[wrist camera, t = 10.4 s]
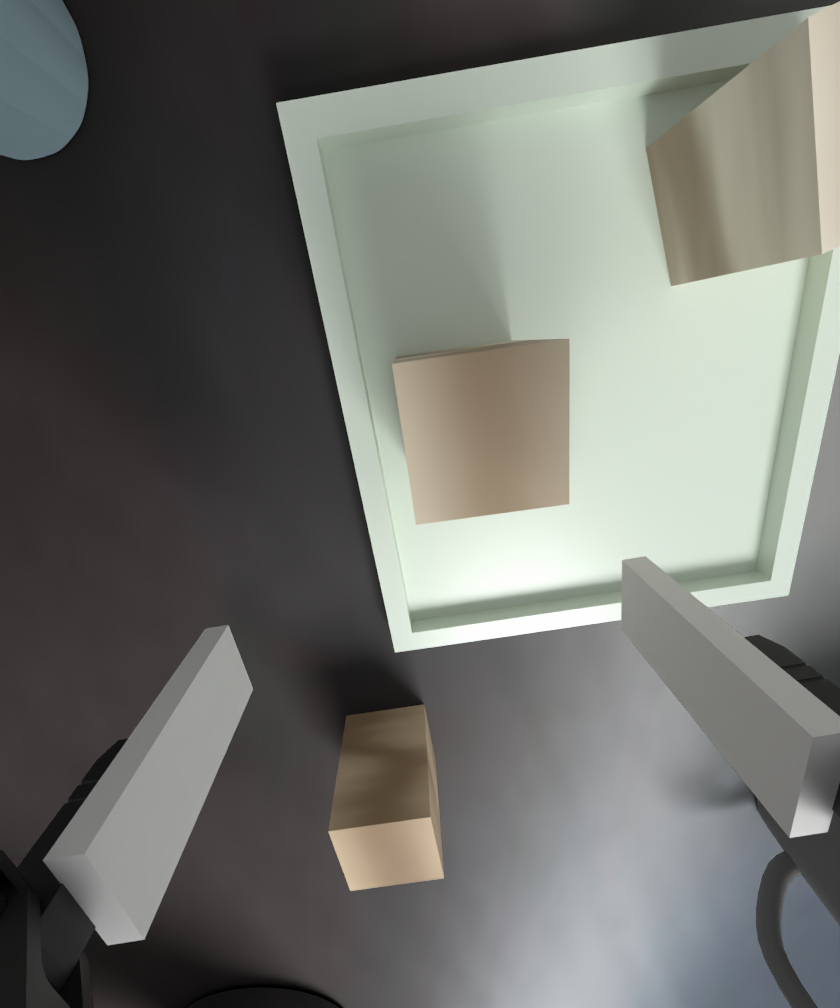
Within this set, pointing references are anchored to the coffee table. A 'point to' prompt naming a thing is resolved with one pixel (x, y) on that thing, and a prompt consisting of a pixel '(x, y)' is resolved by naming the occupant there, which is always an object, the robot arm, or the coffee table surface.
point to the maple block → (756, 162)
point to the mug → (818, 858)
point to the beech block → (485, 428)
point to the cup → (39, 78)
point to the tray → (564, 330)
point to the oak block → (387, 800)
